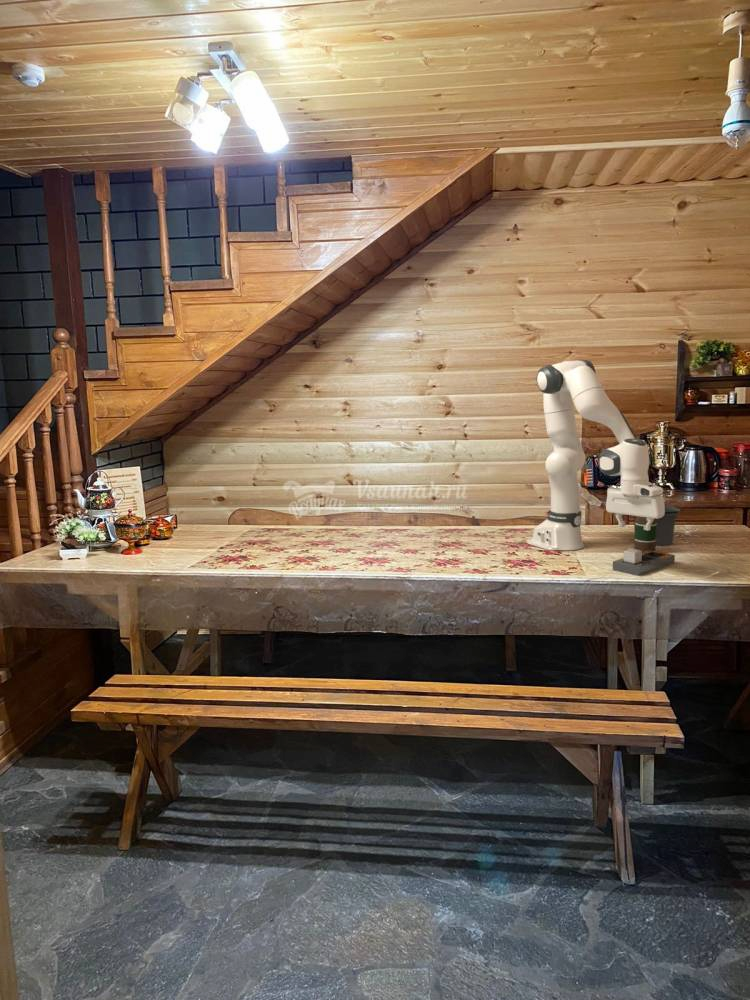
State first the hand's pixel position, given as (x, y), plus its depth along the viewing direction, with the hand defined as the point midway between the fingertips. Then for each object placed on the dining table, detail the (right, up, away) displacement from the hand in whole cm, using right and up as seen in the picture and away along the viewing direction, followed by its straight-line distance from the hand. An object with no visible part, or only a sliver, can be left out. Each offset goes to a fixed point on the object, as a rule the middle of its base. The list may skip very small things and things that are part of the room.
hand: (634, 528), depth 246 cm
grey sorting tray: (+6, -14, +7) cm, 17 cm away
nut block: (0, -15, +3) cm, 15 cm away
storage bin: (+24, -7, +44) cm, 50 cm away
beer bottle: (+14, -10, +29) cm, 34 cm away
